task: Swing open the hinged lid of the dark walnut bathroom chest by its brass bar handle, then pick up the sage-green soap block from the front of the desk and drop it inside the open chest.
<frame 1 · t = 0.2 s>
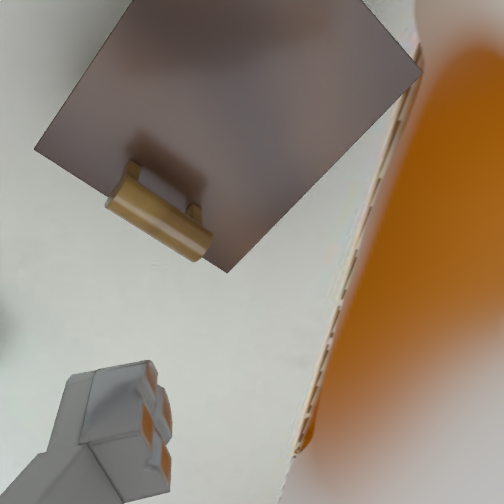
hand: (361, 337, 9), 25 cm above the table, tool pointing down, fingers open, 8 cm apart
lid: (232, 121, 22), point 10 cm above the table, hinge at 0.0°
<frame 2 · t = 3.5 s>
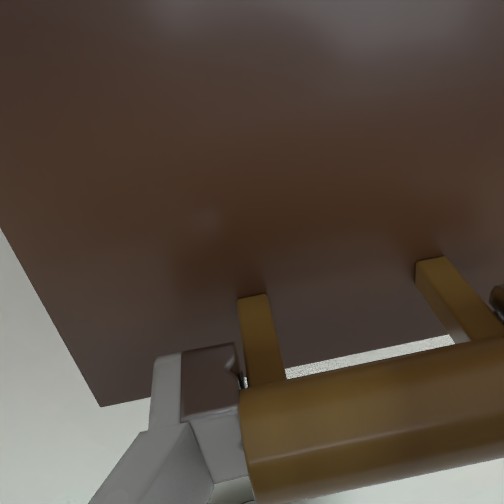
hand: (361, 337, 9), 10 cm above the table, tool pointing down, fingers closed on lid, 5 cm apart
lid: (351, 34, 6), point 10 cm above the table, hinge at -0.1°, touching gripper
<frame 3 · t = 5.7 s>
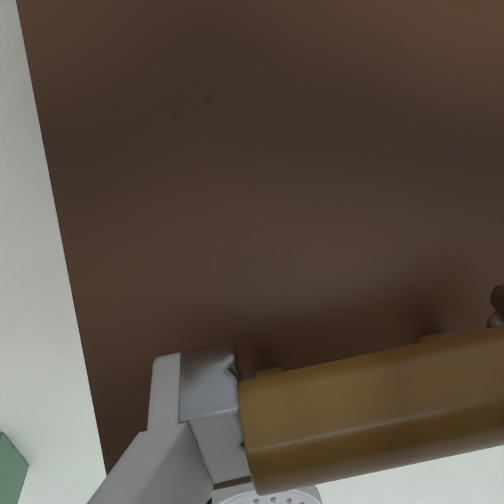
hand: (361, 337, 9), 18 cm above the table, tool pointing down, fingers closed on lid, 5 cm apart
lid: (312, 119, 10), point 15 cm above the table, hinge at 36.8°, touching gripper
showerhead: (255, 448, 40), on the table
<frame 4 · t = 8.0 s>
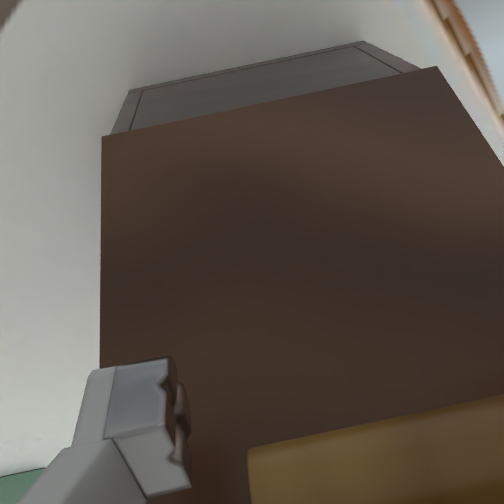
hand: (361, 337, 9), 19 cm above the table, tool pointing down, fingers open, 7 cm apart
lid: (324, 242, 11), point 16 cm above the table, hinge at 66.9°
chest: (267, 189, 28), on the table
soap block: (30, 487, 41), on the table
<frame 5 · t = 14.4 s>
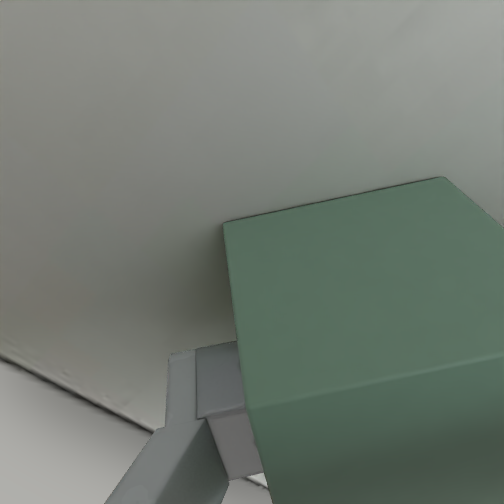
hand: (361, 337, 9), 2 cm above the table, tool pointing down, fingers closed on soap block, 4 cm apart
soap block: (340, 286, 10), on the table, touching gripper
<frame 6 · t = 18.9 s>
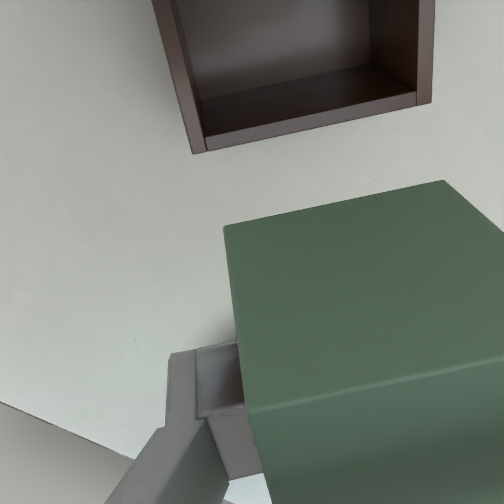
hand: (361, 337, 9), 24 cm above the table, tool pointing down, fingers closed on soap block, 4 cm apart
soap block: (340, 289, 10), point 23 cm above the table, touching gripper
when the fingers open (10 cm above the table, at t = 23.3 s): soap block stays where it is, resting on chest.
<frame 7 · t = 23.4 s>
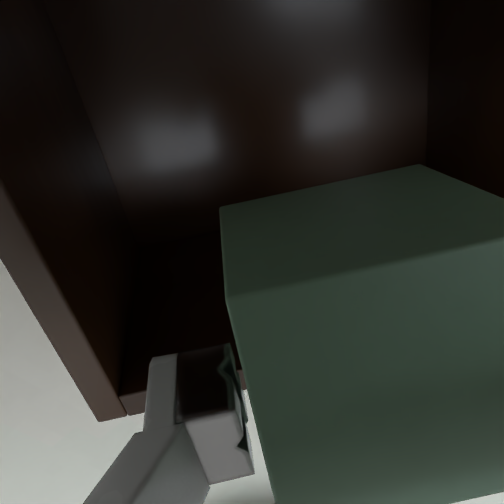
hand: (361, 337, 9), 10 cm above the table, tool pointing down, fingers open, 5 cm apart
chest: (247, 24, 14), on the table
soap block: (333, 276, 11), point 7 cm above the table, tilted 13°, touching chest
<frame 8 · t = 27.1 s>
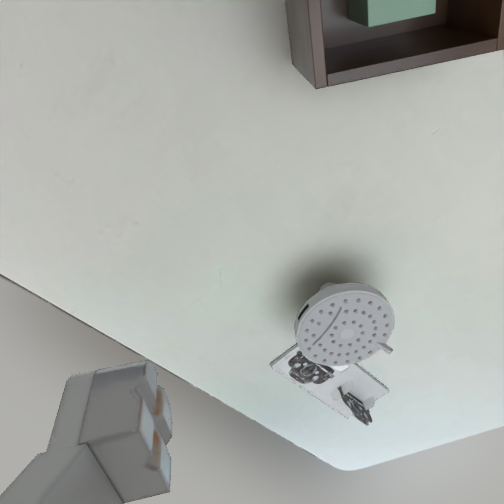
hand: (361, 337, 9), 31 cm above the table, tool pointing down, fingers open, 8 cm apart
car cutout: (331, 375, 56), on the table
soap block: (389, 16, 32), point 3 cm above the table, tilted 90°, touching chest
showerhead: (330, 290, 49), on the table
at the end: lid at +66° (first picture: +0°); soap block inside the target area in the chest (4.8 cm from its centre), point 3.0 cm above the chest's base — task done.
